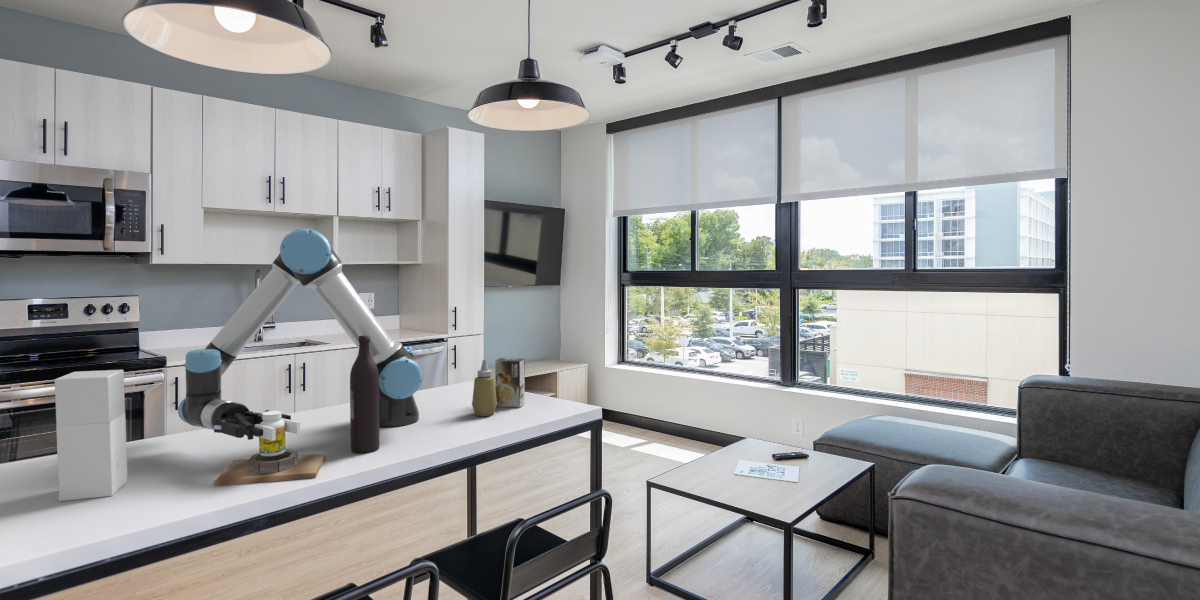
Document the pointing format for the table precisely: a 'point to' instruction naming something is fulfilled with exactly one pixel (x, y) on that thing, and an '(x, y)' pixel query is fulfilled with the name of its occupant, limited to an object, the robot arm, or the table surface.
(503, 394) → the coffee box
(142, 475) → the table surface
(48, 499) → the table surface
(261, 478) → the board
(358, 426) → the wine bottle
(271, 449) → the supplement bottle
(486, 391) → the squeeze bottle
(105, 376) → the tall white carton
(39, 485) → the table surface
